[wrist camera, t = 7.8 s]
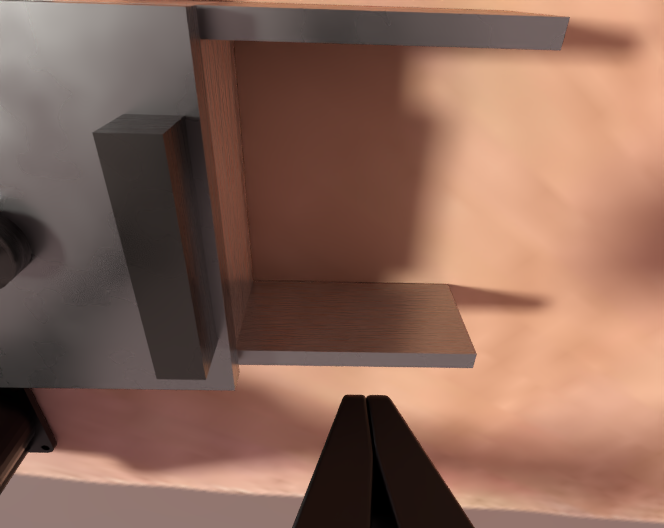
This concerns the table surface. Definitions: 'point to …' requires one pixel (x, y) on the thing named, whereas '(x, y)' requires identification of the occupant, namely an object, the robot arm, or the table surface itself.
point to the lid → (109, 202)
